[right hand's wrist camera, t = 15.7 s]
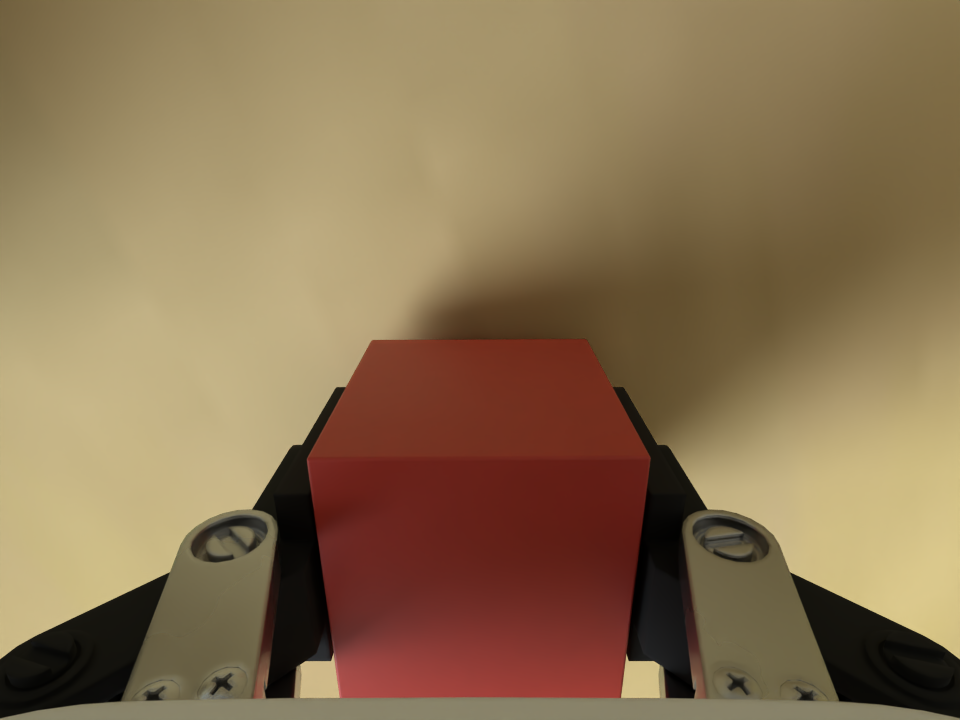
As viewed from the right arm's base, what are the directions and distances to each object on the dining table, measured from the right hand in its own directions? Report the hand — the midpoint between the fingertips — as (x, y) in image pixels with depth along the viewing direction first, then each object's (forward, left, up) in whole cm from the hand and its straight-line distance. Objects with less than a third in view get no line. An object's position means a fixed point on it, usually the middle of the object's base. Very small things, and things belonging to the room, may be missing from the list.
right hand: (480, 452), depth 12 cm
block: (0, 0, 0) cm, 0 cm away
